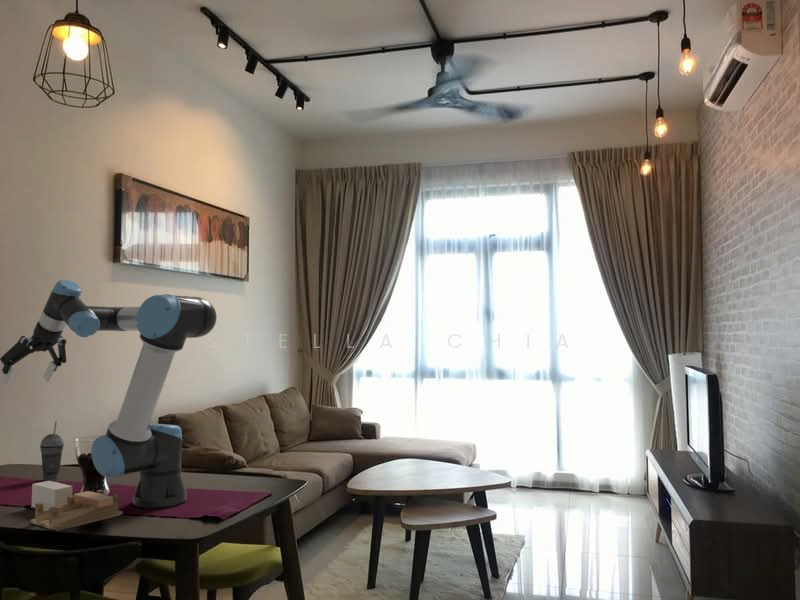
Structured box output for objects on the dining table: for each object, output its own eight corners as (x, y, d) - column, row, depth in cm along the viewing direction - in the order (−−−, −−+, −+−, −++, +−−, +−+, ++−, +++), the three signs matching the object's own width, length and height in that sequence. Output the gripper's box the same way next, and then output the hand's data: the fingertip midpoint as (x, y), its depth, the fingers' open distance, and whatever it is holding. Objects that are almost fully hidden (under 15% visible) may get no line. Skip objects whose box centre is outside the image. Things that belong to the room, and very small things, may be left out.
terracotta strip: (113, 504, 178) (113, 496, 178) (98, 507, 174) (98, 500, 174) (88, 498, 184) (88, 490, 184) (73, 501, 180) (73, 494, 181)
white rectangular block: (71, 511, 183) (72, 486, 183) (54, 515, 179) (54, 489, 179) (48, 504, 190) (49, 480, 190) (31, 508, 186) (32, 483, 186)
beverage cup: (48, 477, 225) (50, 419, 226) (67, 477, 224) (69, 419, 225) (33, 481, 218) (35, 422, 219) (53, 482, 217) (55, 422, 218)
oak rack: (122, 514, 179) (123, 495, 180) (57, 531, 164) (57, 509, 164) (95, 507, 187) (96, 488, 187) (30, 522, 171) (31, 502, 171)
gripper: (81, 319, 213) (56, 371, 218) (4, 317, 192) (-22, 374, 196) (92, 332, 210) (67, 384, 215) (16, 331, 188) (-11, 389, 193)
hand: (25, 380), depth 206 cm, fingers open, 13 cm apart
